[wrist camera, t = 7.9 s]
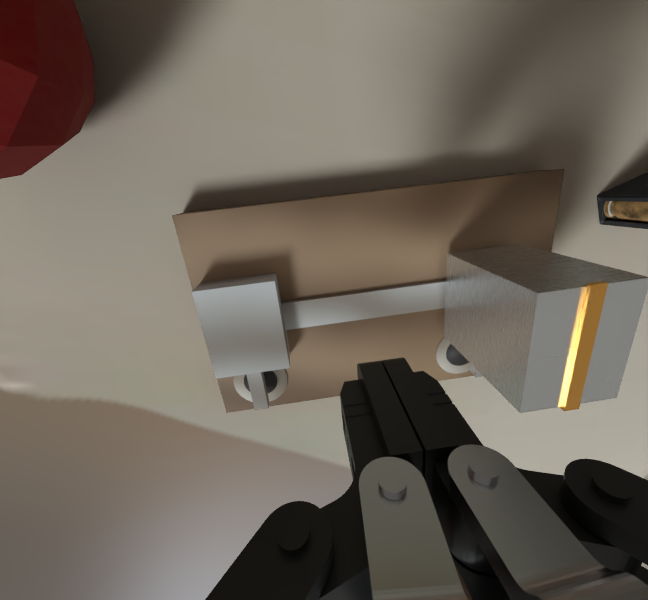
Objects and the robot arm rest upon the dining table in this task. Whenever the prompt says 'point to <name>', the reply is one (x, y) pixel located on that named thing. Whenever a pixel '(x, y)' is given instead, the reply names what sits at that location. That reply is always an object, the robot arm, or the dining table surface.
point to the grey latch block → (542, 323)
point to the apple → (41, 80)
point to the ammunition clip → (625, 204)
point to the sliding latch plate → (346, 279)
